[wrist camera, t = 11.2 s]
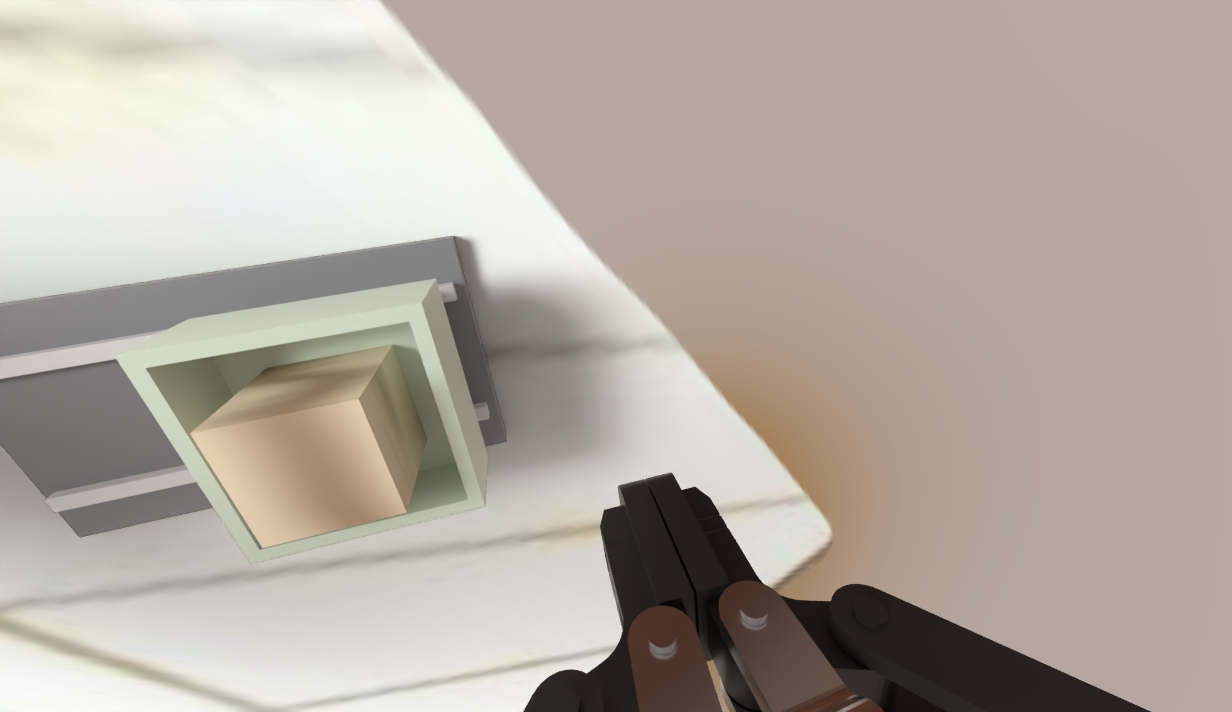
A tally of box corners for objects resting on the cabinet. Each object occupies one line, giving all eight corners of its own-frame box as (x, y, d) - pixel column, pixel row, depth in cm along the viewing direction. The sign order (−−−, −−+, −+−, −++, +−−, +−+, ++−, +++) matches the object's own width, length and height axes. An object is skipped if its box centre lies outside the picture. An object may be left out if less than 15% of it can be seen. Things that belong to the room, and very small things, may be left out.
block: (315, 464, 20) (262, 548, 16) (266, 368, 18) (189, 433, 14) (427, 439, 21) (406, 512, 17) (392, 344, 19) (358, 398, 15)
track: (92, 526, 24) (69, 546, 22) (-81, 315, 19) (-123, 326, 17) (506, 434, 27) (506, 447, 26) (453, 235, 22) (450, 239, 21)
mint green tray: (306, 476, 24) (250, 564, 18) (217, 304, 20) (114, 355, 14) (489, 435, 25) (485, 506, 20) (442, 268, 21) (421, 302, 16)
